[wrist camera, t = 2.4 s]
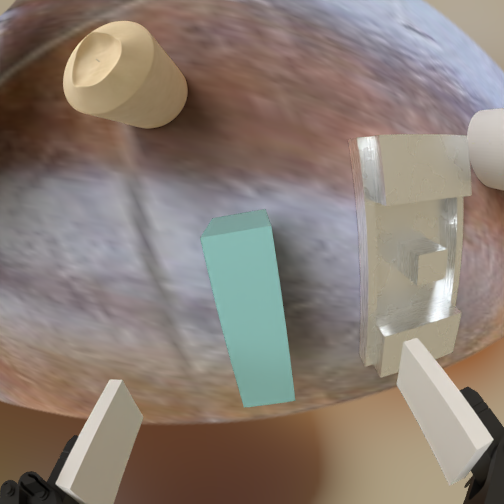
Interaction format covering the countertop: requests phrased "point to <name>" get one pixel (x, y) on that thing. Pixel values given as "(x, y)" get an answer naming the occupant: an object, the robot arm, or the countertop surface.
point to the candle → (124, 77)
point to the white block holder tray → (409, 242)
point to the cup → (487, 147)
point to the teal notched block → (250, 305)
